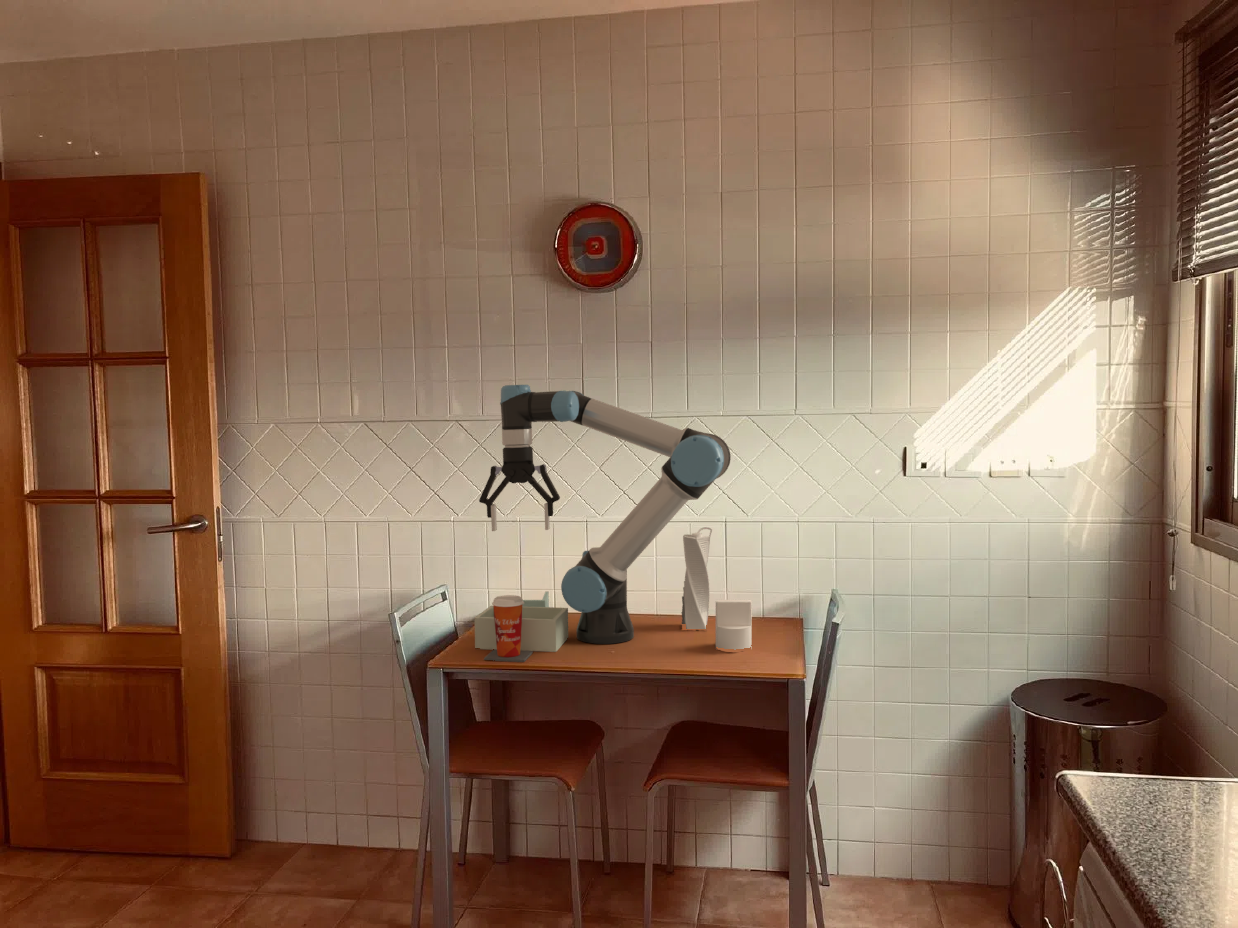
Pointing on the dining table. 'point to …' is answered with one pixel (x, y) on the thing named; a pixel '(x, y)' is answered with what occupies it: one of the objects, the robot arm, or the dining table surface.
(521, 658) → the mat
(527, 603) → the l-shaped corner panel
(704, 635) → the dining table surface
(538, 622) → the crate
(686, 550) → the skyscraper
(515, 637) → the paper cup
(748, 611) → the base with upright slab
